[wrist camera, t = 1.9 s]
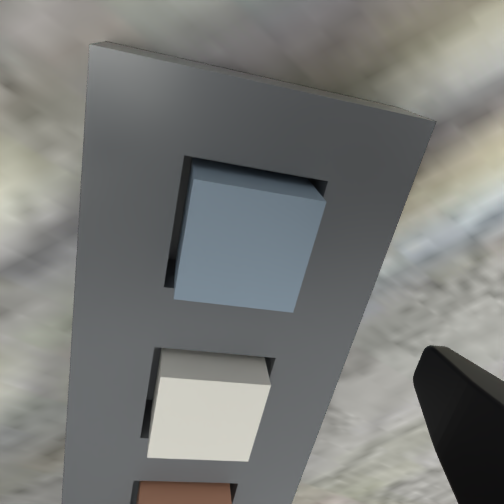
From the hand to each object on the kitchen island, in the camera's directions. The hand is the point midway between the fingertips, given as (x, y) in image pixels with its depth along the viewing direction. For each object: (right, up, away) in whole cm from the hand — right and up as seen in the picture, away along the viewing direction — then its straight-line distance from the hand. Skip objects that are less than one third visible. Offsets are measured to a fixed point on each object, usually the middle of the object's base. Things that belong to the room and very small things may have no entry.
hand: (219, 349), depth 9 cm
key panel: (-2, -4, +16) cm, 17 cm away
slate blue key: (0, +3, +11) cm, 11 cm away
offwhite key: (-2, -5, +15) cm, 15 cm away
